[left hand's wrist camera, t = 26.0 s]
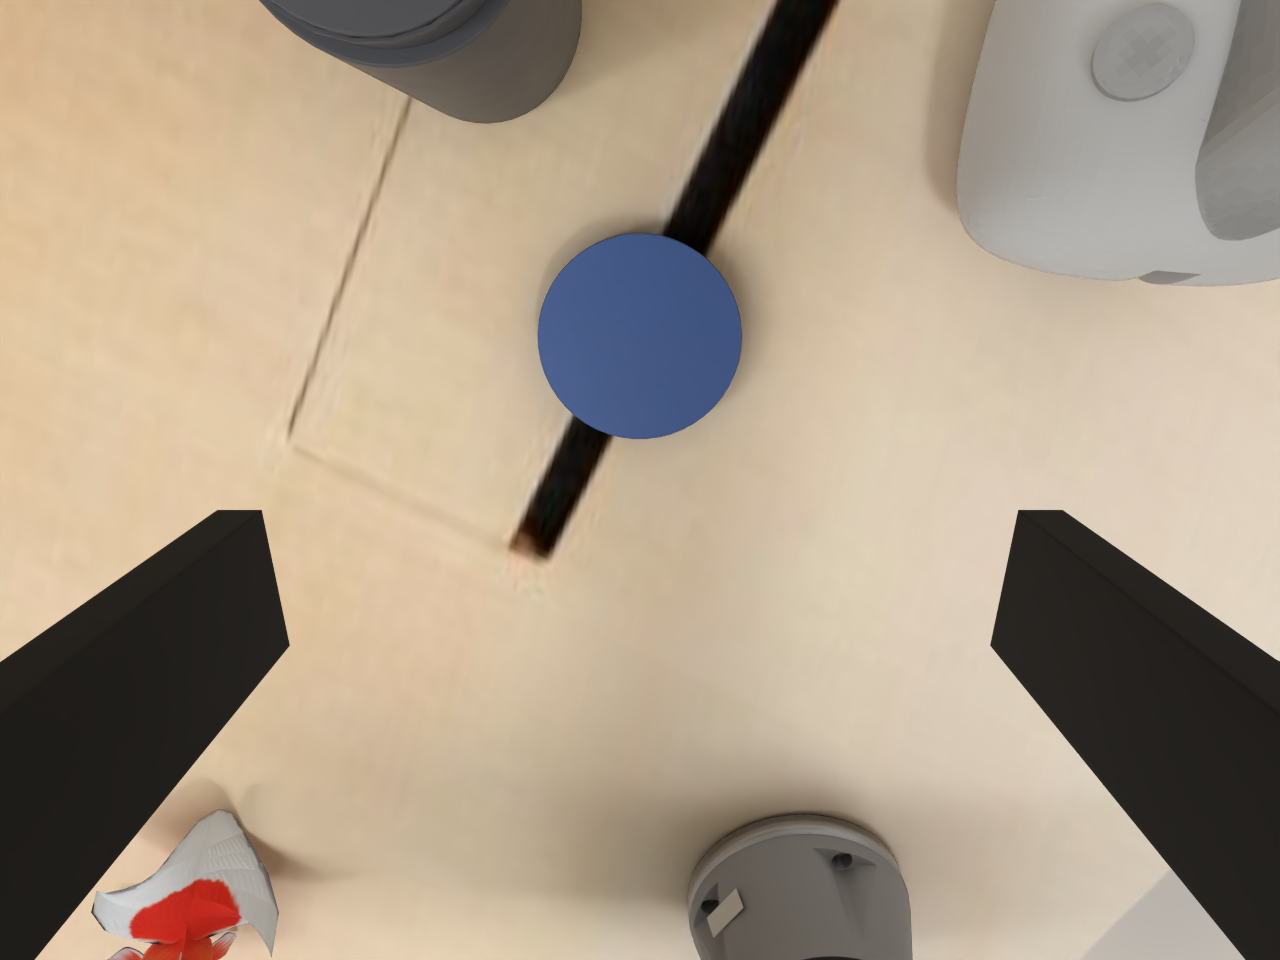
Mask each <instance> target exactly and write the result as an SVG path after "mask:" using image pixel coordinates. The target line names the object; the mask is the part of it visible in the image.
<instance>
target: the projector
mask: <svg viewBox="0 0 1280 960" xmlns="http://www.w3.org/2000/svg"><path fill="white" fill-rule="evenodd" d="M956 196H957V208H958V212H959V217H960V220H961V223H962V225H963V227H964V229H965V231H966V232H967V234H968V235H969V236H970V237H971V238H972V239H973V240H974V241H975V242H976V243H977V244H978V245H979V246H980V247H982V248H983V249H984V250H986V251H987V252H989V253H991V254H993V255H995V256H997V257H999V258H1001V259H1003V260H1006V261H1009V262H1011V263H1014V264H1017V265H1020V266H1024V267H1027V268H1030V269H1034V270H1039V271H1043V272H1047V273H1053V274H1059V275H1066V276H1073V277H1080V278H1088V279H1098V280H1109V281H1123V280H1129V279H1133V278H1136V277H1137V278H1139V279H1140V280H1142V281H1144V282H1147V283H1151V284H1160V285H1178V286H1232V285H1242V284H1252V283H1258V282H1264V281H1269V280H1274V279H1278V278H1280V0H995V4H994V7H993V10H992V14H991V17H990V20H989V24H988V27H987V31H986V35H985V39H984V42H983V46H982V50H981V54H980V58H979V61H978V65H977V69H976V73H975V78H974V82H973V86H972V91H971V95H970V99H969V103H968V108H967V113H966V118H965V123H964V128H963V134H962V139H961V146H960V153H959V160H958V168H957V183H956Z"/></svg>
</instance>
